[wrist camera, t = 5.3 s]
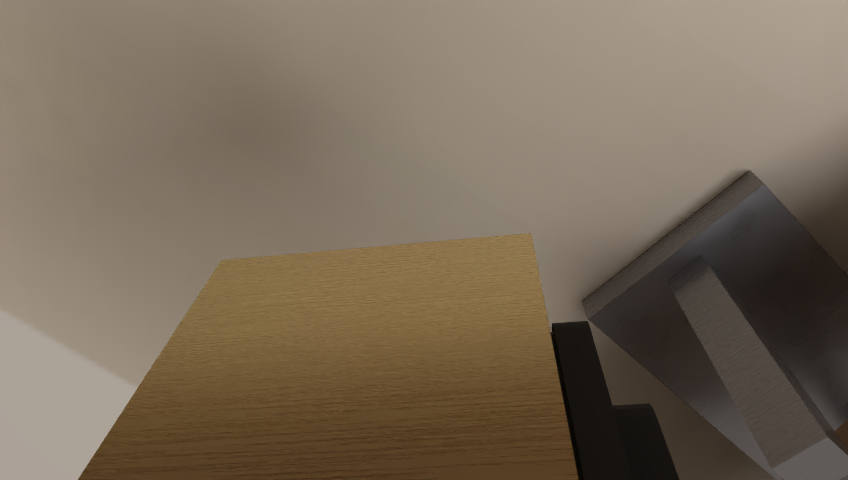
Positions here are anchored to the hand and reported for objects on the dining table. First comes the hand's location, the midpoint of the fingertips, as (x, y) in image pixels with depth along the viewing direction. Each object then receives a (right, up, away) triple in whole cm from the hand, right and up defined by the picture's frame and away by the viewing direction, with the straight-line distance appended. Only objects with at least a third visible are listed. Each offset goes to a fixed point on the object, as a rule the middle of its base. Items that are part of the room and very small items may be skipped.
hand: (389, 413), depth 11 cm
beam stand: (+17, -3, +18) cm, 25 cm away
